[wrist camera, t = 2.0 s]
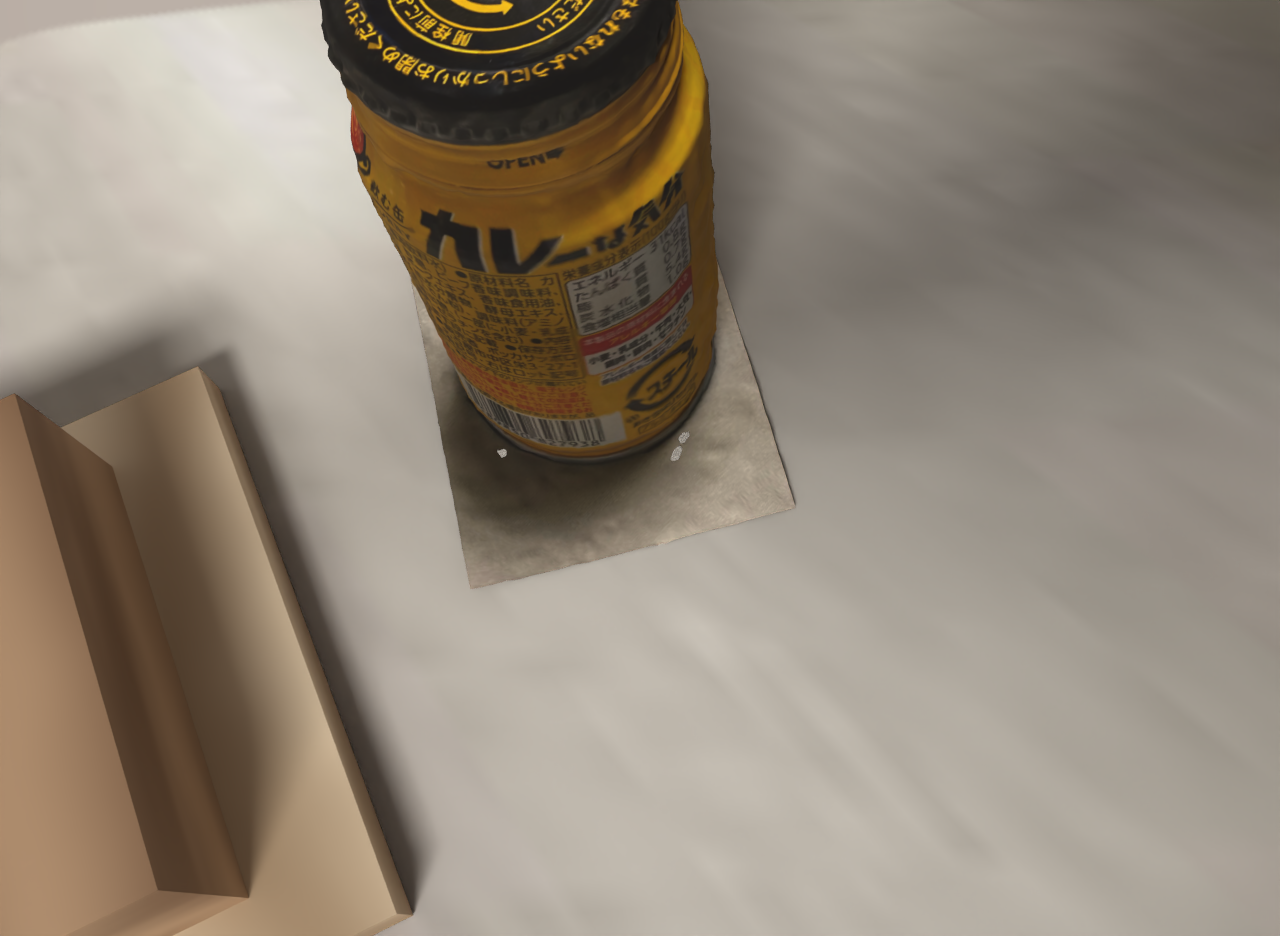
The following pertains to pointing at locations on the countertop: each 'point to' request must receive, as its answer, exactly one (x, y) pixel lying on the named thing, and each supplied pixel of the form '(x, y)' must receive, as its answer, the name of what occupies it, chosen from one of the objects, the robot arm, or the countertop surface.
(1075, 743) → the countertop surface
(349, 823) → the base board
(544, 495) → the condiment
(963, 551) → the countertop surface
